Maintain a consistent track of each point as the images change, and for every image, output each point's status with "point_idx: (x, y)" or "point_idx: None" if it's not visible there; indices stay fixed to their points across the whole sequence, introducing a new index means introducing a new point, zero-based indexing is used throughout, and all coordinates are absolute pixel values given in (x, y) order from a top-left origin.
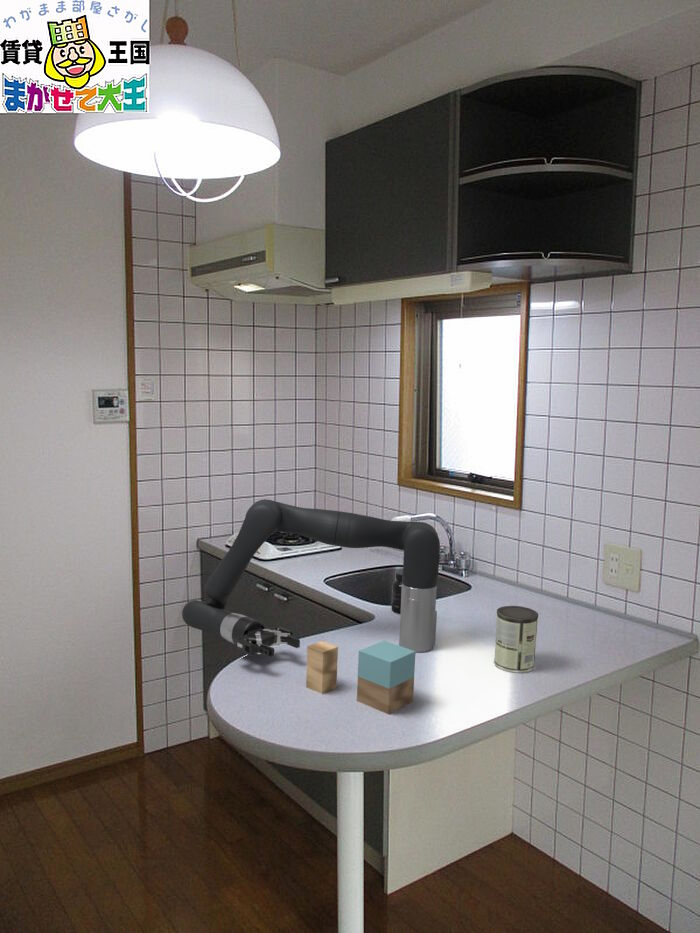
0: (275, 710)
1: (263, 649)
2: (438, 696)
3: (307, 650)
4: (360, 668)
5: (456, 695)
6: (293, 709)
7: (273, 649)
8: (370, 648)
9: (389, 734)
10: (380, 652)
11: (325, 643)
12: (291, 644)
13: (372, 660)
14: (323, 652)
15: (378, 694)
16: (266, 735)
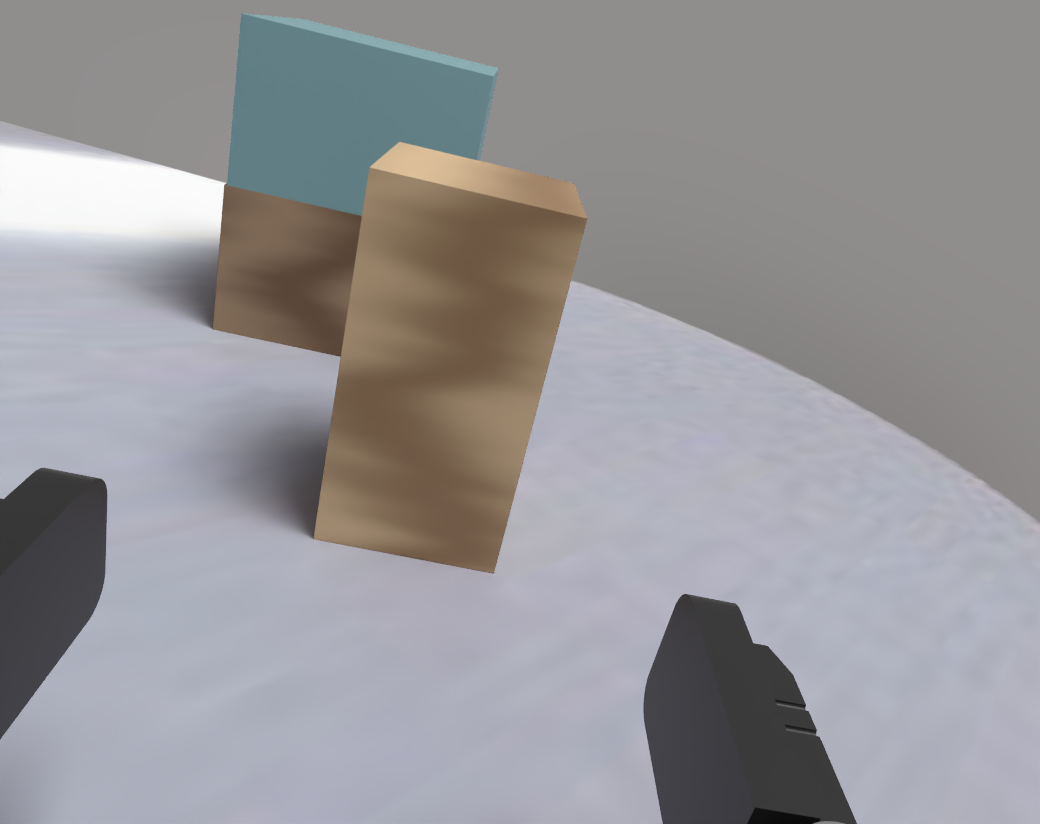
0: (883, 583)
1: (818, 760)
2: (167, 233)
3: (575, 260)
4: None
5: (122, 208)
6: (774, 526)
7: (699, 598)
8: (415, 55)
9: (569, 306)
10: (429, 55)
11: (409, 164)
12: (12, 692)
13: (490, 99)
14: (570, 184)
15: None
16: (1016, 524)
